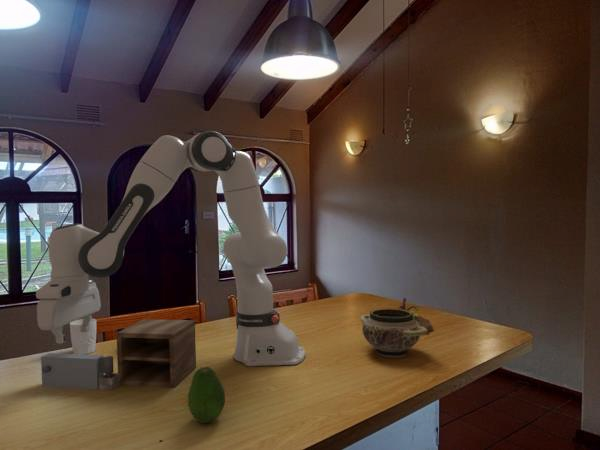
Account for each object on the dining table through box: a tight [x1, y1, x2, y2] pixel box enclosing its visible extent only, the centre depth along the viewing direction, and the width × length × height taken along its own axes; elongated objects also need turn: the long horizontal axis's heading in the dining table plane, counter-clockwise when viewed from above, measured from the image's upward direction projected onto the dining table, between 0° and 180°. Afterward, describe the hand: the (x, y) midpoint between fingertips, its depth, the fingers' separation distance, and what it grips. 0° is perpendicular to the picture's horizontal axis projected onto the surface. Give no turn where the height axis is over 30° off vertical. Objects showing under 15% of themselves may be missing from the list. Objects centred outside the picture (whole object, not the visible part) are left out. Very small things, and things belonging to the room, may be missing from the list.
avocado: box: [187, 366, 226, 424], centre depth 94 cm, size 8×8×12 cm
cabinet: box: [98, 318, 197, 391], centre depth 119 cm, size 19×17×14 cm
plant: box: [397, 297, 433, 333], centre depth 165 cm, size 20×20×11 cm
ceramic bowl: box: [359, 307, 429, 358], centre depth 136 cm, size 24×18×15 cm
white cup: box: [69, 318, 97, 355], centre depth 143 cm, size 8×8×10 cm
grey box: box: [40, 352, 115, 390], centre depth 114 cm, size 20×4×8 cm, turn 81°
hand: (73, 336), depth 115 cm, fingers open, 8 cm apart
